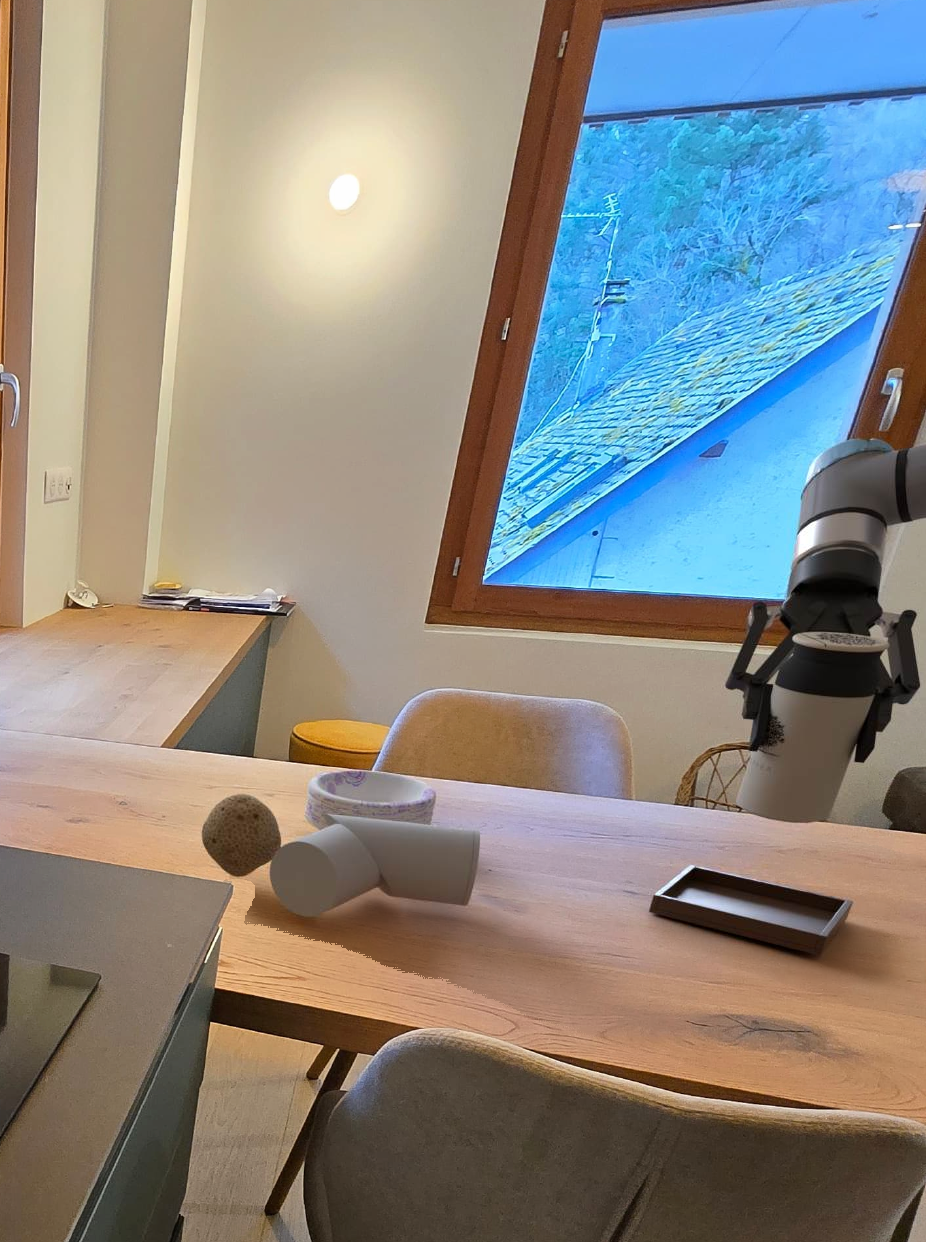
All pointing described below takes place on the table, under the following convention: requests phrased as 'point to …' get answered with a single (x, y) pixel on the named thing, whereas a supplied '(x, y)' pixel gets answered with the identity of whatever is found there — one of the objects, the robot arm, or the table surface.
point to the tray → (753, 908)
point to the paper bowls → (369, 797)
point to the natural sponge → (241, 834)
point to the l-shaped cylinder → (375, 864)
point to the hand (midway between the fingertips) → (809, 749)
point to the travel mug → (812, 726)
